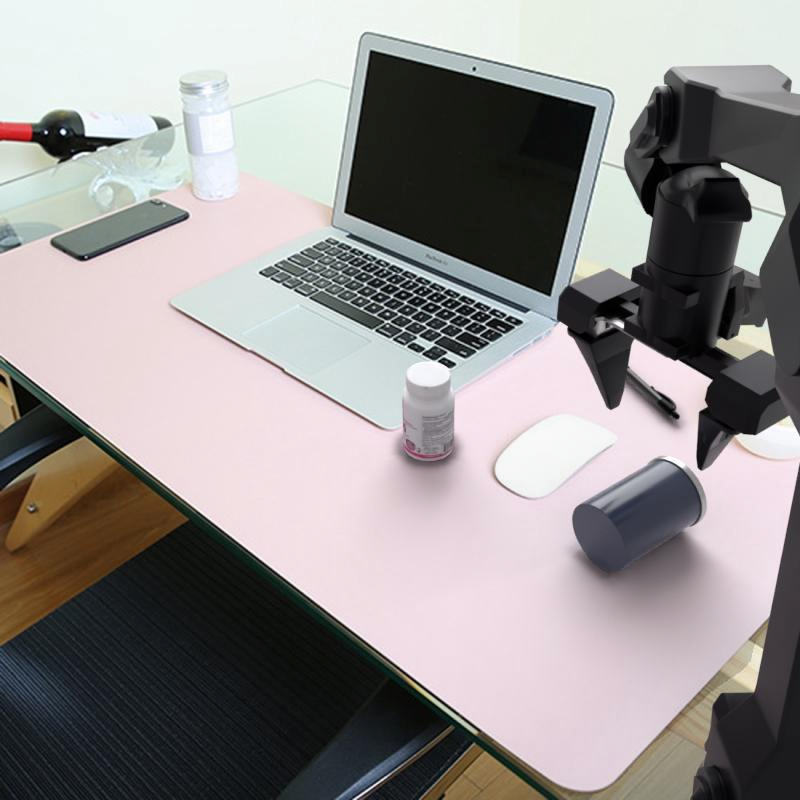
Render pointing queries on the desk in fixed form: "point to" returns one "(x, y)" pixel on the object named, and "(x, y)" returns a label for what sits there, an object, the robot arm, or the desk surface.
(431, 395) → the pill bottle
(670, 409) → the pen
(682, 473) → the navy blue tumbler
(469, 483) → the desk surface
